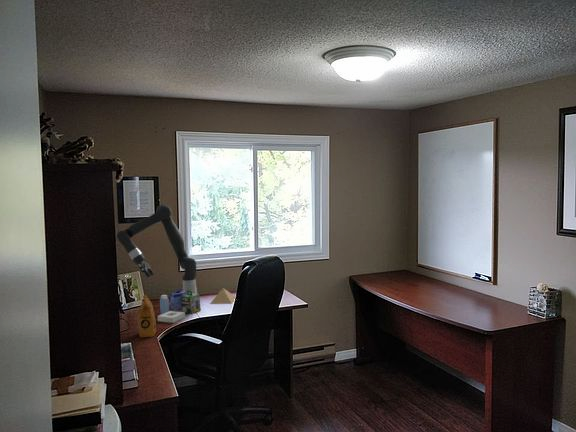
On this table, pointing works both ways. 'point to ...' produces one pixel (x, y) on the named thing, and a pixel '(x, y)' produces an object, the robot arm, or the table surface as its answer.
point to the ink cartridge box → (176, 300)
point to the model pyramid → (223, 298)
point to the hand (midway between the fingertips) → (151, 275)
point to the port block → (171, 317)
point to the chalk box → (190, 303)
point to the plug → (164, 304)
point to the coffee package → (146, 319)
